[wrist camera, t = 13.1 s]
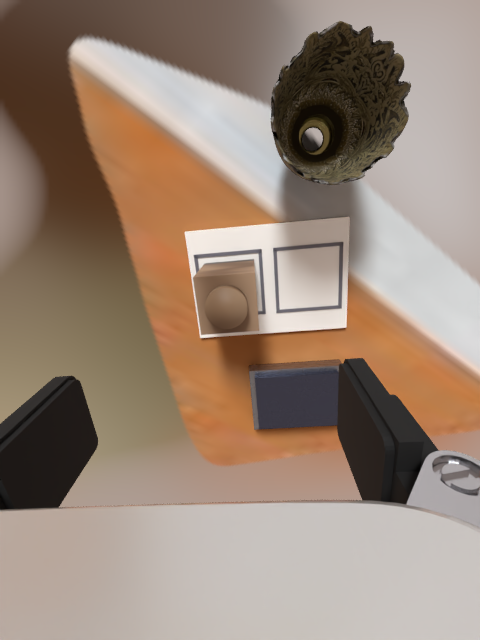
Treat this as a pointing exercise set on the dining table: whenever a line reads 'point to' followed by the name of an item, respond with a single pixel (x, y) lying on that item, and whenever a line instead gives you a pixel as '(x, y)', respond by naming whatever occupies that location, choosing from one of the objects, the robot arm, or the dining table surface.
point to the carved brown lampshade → (339, 104)
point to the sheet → (285, 270)
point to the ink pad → (295, 394)
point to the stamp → (227, 297)
